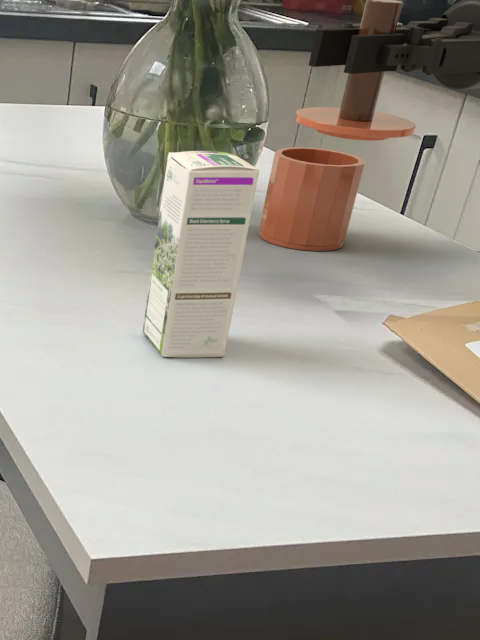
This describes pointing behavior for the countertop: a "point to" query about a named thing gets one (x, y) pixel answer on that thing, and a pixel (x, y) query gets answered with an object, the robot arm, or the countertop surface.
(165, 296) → the syrup box
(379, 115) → the lid
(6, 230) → the countertop surface
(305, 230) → the jar
